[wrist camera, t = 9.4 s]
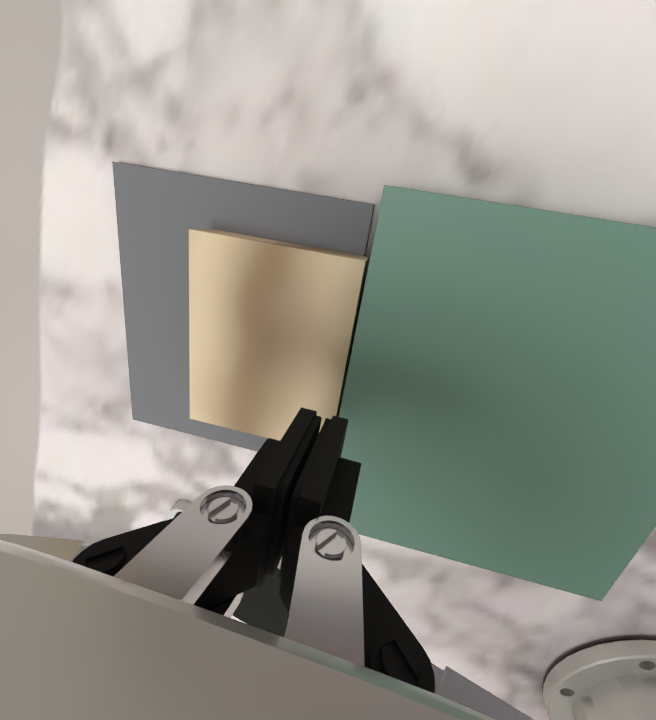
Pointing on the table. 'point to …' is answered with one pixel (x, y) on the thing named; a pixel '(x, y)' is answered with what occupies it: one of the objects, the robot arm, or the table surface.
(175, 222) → the rubber mat
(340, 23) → the table surface
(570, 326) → the green flat block
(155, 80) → the table surface
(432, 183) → the table surface
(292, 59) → the table surface
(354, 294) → the oak tile
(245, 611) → the smartphone
